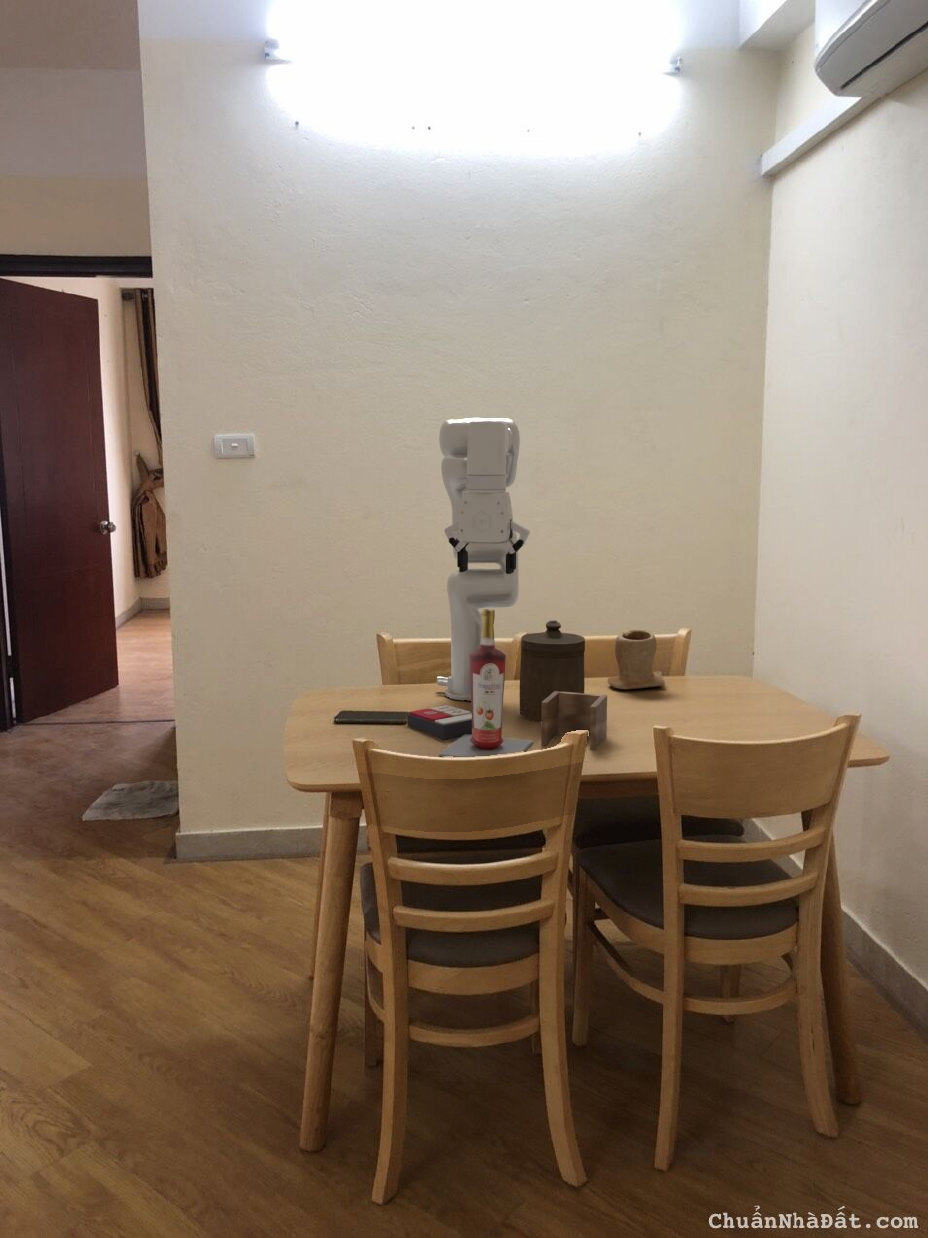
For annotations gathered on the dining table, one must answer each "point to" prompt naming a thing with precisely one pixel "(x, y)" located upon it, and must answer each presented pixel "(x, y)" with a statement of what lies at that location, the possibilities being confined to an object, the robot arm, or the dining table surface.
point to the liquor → (487, 687)
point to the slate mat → (467, 749)
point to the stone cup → (636, 661)
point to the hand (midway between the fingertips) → (486, 572)
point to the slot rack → (574, 716)
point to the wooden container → (549, 667)
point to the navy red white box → (441, 722)
